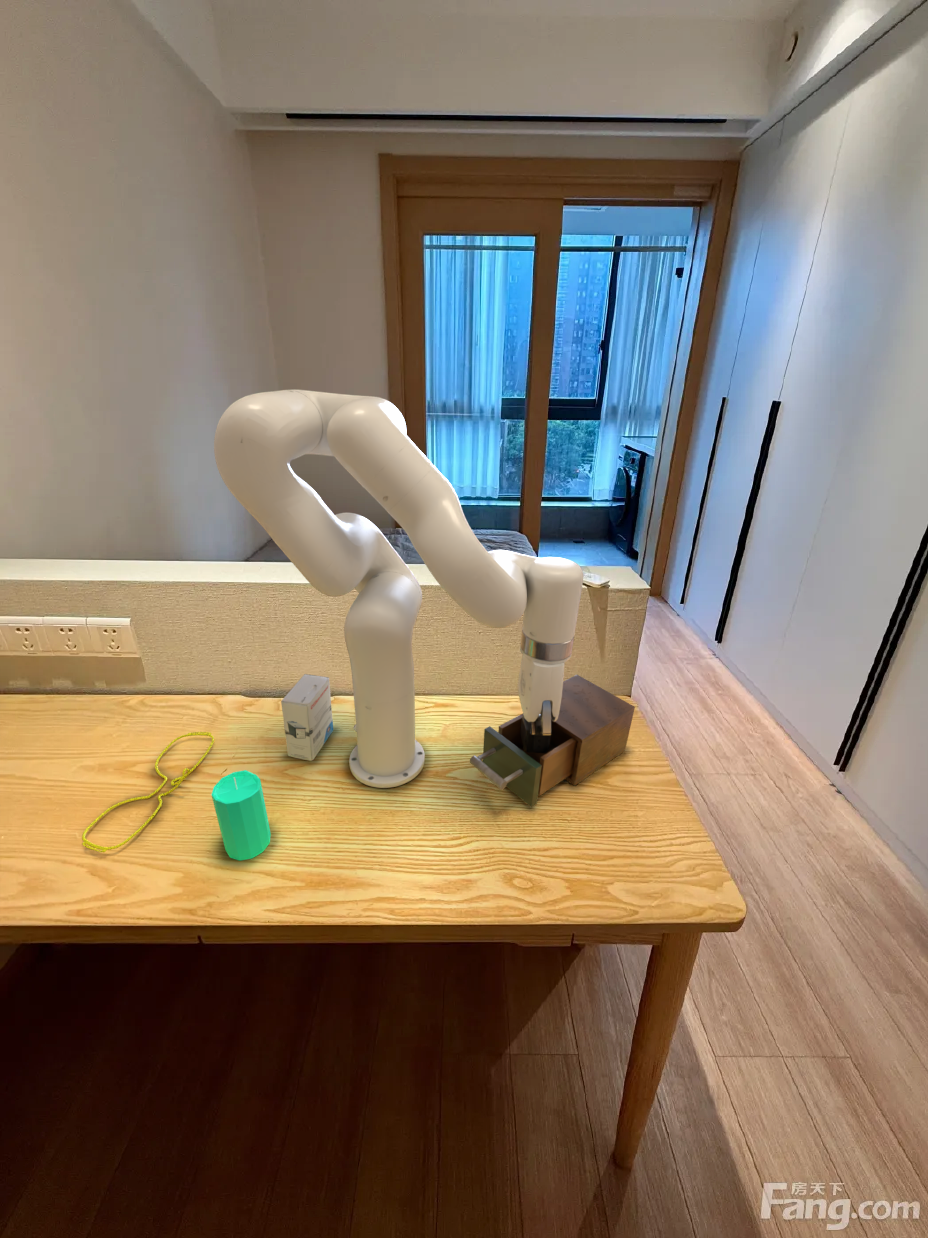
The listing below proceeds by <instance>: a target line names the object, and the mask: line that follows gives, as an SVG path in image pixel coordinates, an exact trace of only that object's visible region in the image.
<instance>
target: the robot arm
mask: <svg viewBox="0 0 928 1238" xmlns="http://www.w3.org/2000/svg"><path fill="white" fill-rule="evenodd" d="M213 440H214V441H213V452H214V459H215V463H216V468H217V471H218V473H219V475H220V477H221V479H222V481H223V483H224V485H225V487H226V488H227V489H228V490H229V492H230V493H231V494H232V496H233V497H234V498H235V499H236V500H237V502H239V504H240V505H241V506H242V507H243V508H244V509H245V510H246V511H247V512H248V513H249V514H250V515H251V516H252V518H254V519H255V520H256V522H257V523H259V525H260V526H261V527H262V528H263V530H265V532H266V533H267V534H268V536H269V537H270V538H271V539H272V541H273V542H274V544H276V546H277V547H278V548H279V549H280V550H281V552H283V554H284V555H285V556H286V557H287V559H288V560H289V561H290V562H291V563H292V565H293V566H294V567H295V568H296V570H298V571H299V573H300V574H301V575H302V576H303V577H304V578H305V580H306V581H307V582H308V583H309V584H310V585H311V586H312V588H314V589H315V590H316V591H318V592H319V593H320V594H323V595H325V596H326V597H333V598H338V597H343V596H346V595H347V594H349V593H351V592H353V590H354V589H355V591H356V592H357V596H356V597H355V599H354V600H353V602H352V604H351V605H350V607H349V609H348V611H347V614H346V617H345V621H344V625H343V626H344V627H343V637H344V643H345V646H346V651H347V653H348V658H349V663H350V671H351V682H352V683H351V684H352V691H353V705H354V718H355V724H354V725H353V727H352V730H353V731H354V732H355V733H356V743H357V744H356V745H355V746H354V747H353V749H352V750H351V752H350V754H349V758H348V759H349V760H348V762H349V763H348V764H349V771H350V772H351V774H352V776H353V777H354V778H355V779H356V780H357V781H359V782H360V783H361V784H364V785H366V786H369V787H372V788H377V789H378V788H379V789H387V788H388V789H389V788H394V787H395V788H396V787H399V786H402V785H404V784H406V783H410V781H412V780H414V779H415V778H416V777H417V776H418V775H419V774H420V773H421V772H422V770H423V768H424V766H425V759H426V755H425V751H424V747H423V746H422V744H421V743H420V742H418V740H417V739H416V690H415V689H416V687H415V663H414V655H413V634H414V629H415V625H416V622H417V619H418V615H419V613H420V610H421V607H422V603H423V591H422V588H421V587H422V586H421V585H420V582H419V580H418V579H417V577H416V576H415V574H414V573H413V571H412V570H411V568H409V566H408V565H407V564H406V562H405V561H404V560H403V558H402V557H401V556H400V554H399V553H398V552H397V551H396V550H395V548H394V547H393V546H392V544H391V542H389V540H388V539H387V538H386V536H385V535H384V534H383V532H382V531H381V530H380V529H379V528H378V527H377V526H376V525H375V524H374V523H373V522H372V521H370V520H369V519H368V518H366V517H365V516H362V515H361V514H358V513H354V512H340V513H336V514H334V512H333V511H332V510H331V509H330V508H329V507H328V506H327V504H326V503H325V502H324V501H323V499H322V497H321V496H320V495H319V494H318V493H317V492H316V490H315V489H314V488H313V487H312V486H311V485H309V484H308V482H306V481H305V480H304V479H302V477H300V476H298V475H297V474H296V473H295V472H294V470H293V469H292V467H291V462H292V461H293V460H296V459H298V458H300V457H302V456H304V455H319V456H328V457H334V458H335V460H336V461H337V462H338V463H339V464H340V465H341V466H342V467H343V469H345V471H347V472H348V473H349V474H350V476H351V477H353V479H354V480H355V481H356V482H358V484H359V485H360V486H361V487H362V488H363V489H364V490H365V491H367V493H368V494H369V495H370V496H371V497H372V498H373V499H374V500H375V501H376V502H377V503H378V504H379V505H380V506H381V507H382V508H383V509H384V510H385V511H386V512H387V513H388V515H390V517H391V518H392V519H393V520H394V521H395V522H396V523H397V524H398V525H399V526H400V527H401V528H402V530H403V531H404V532H405V533H406V534H407V537H408V538H409V541H410V542H411V544H412V546H413V548H414V549H415V551H416V553H417V554H418V555H419V557H420V559H421V560H422V561H423V563H424V565H425V566H426V568H427V569H428V571H429V573H430V574H431V575H432V577H433V579H434V580H435V581H436V582H437V583H438V585H439V586H440V587H441V588H442V589H443V591H444V592H445V593H446V594H447V595H448V596H449V597H450V598H451V599H452V600H453V601H454V602H455V603H456V604H457V605H458V606H459V607H460V608H461V609H462V610H463V611H464V613H466V614H467V615H468V616H470V618H472V619H473V620H474V621H476V622H477V623H479V624H480V625H483V626H485V627H487V628H491V629H504V628H508V627H511V626H513V625H514V624H516V623H517V622H518V621H519V620H520V619H521V618H522V627H521V634H520V645H519V652H520V654H521V661H520V665H519V666H520V667H519V673H518V678H517V679H518V680H517V695H518V699H519V702H520V707H521V711H522V714H523V715H524V718H525V719H526V720H527V721H528V722H531V730H528V738H527V746H526V751H527V752H528V753H546V752H547V747H548V740H549V735H551V718H552V721H553V722H555V721H556V720H557V719H558V716H559V711H560V705H561V698H562V689H563V681H564V677H565V665H566V662H568V661H569V660H570V659H571V658H572V655H573V648H574V641H575V635H576V629H577V621H578V615H579V610H580V603H581V598H582V597H581V596H582V591H583V584H584V570H583V569H582V567H581V566H580V565H579V564H578V563H577V562H575V561H573V560H571V559H567V558H563V557H557V556H547V557H536V556H531V555H527V554H522V553H520V552H516V551H510V550H505V549H493V550H490V551H487V549H486V548H485V547H484V545H483V544H482V543H481V541H480V540H479V539H478V537H477V536H476V534H475V533H474V530H473V529H472V528H471V526H470V524H469V522H468V520H467V518H466V516H465V513H464V510H463V507H462V504H461V502H460V499H459V497H458V495H457V493H456V490H455V488H454V487H453V485H452V484H451V482H450V481H449V480H448V479H447V478H446V477H445V475H443V474H442V473H441V471H440V470H439V469H438V468H437V467H436V466H435V464H433V463H432V461H431V460H430V459H429V458H428V457H427V456H426V455H425V454H424V452H422V450H420V449H419V447H418V446H417V445H416V444H415V443H414V442H413V441H412V440H411V438H410V437H409V436H408V435H407V425H406V421H405V418H404V416H403V414H402V412H401V411H400V410H399V408H397V407H396V405H394V403H392V402H391V401H389V400H388V399H386V398H382V397H381V396H373V395H372V396H371V395H356V394H344V393H335V392H326V391H325V392H324V391H317V390H315V391H314V390H308V389H307V390H306V389H282V390H274V391H273V390H272V391H264V392H257V393H251V394H248V395H245V396H243V397H241V398H239V399H237V400H235V401H234V402H232V403H230V405H229V406H228V407H227V408H226V409H225V410H224V412H223V413H222V414H221V416H220V418H219V420H218V423H217V425H216V428H215V431H214V439H213ZM522 616H523V617H522ZM536 721H541V726H536Z"/></svg>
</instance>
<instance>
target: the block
mask: <svg viewBox="0 0 928 1238" xmlns="http://www.w3.org/2000/svg"><path fill="white" fill-rule="evenodd" d="M536 726H541V721H536ZM528 730H531V722H528V721H527V720H526V719H525V718H524V715H522V722H521V730H520V736H521V740H522V745H523V750H526V746H527V738H528ZM550 737H551V735H549V740H548V747H547V750H549V744H550Z"/></svg>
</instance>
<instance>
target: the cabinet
mask: <svg viewBox="0 0 928 1238" xmlns="http://www.w3.org/2000/svg"><path fill="white" fill-rule="evenodd" d="M635 708H636V706H635V705H634V704H633V705H632V704H631V703H629V702H628V701H625V700H624V699H622V698H620V697H618V696H617V695H615V694H613V693H611V692H609V691H607V690H606V689H604V688H603V687H600V686H599V685H597V684H595V683H593V682H592V681H589V680H588V679H586V678H585V677H583V676H581V675H579V674H574V675H573V676H571V677H570V678H567V679H565V680H563V689H562V698H561V705H560V711H559V716H558V719H557V720H556V721H555V722H553V721H552V718H551V723H552V724H553V725H555V726H556V727H558V728H559V729H561V730H562V731H564V732H565V733H566V734H568V735H569V736H571V737H572V738H574V739H575V740H577V741H578V743H577V749H576V755H575V761H574V767H573V773H572V774H571V775H570V776H568V777H567V778H565V779H564V780H566V781H567V782H568V783H569V784H571V785H572V786H577V785H578V784H579V783H581V782H583V781H584V780H585V779H587V778H588V777H589V776H591V775H593V774H594V773H595V772H596V771H598V770H600V769H601V768H602V767H604V766H606V765H607V764H608V763H610V762H611V761H612V760H614V759H615V758H616V757H618V756H620V755H621V754H622V753H624V752H626V749H627V744H628V740H629V735H630V731H631V726H632V721H633V718H634V713H635V710H636V709H635Z"/></svg>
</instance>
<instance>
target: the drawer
mask: <svg viewBox="0 0 928 1238" xmlns="http://www.w3.org/2000/svg"><path fill="white" fill-rule="evenodd" d="M522 715H523V713H521V714H519V715H517V716H515V717H513V718H512V719H509V720H508V721H506V722H504V723H502V724H500V725H498V730H496V729H494V728H493V727H492V726H490V725H489V726H487V727H485V728H484V729H483V745H482V746H483V748H482V753H481V754H479V755H478V756H477V755H472V756H471V757H470V758H469V761H468V763H469V764H470V765H472V766H473V768H475V769H476V770H477V771H479V772H480V773H481V775H483V776H484V777H485V778H487V779H488V780H489V781H490V782H491V783H492V784H493V785H495V787H497V788H498V789H499V790H501V791H502V790H505V788H507V789H508V790H510V791H511V792H512V793H514V795H516V796H517V797H518V798H519V799H520V800H521V801H523V802H524V803H525V804H526V805H528V806H529V808H533V807H534V806H536V805H538V798H539V797H540V796H541V795H544V794H545V793H546V792H547V791H549V790H550V789H552V788H554V787H555V786H556V785H558V784H559V783H561V782H563V781H564V780H566V779H565V778H567V777H568V776H570V775H571V774H572V773H573V767H574V761H575V755H576V749H577V743H578V741H577V740H575V739H574V738H572V737H571V736H569V735H568V734H566V733H565V732H564V731H562V730H561V729H559V728H558V727H556V726H555V725H553V724H552V723H551V737H550V744H549V750H547V752H546V753H528V752H527V751H526V750H523V745H522V740H521V736H520V730H521V722H522Z"/></svg>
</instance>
